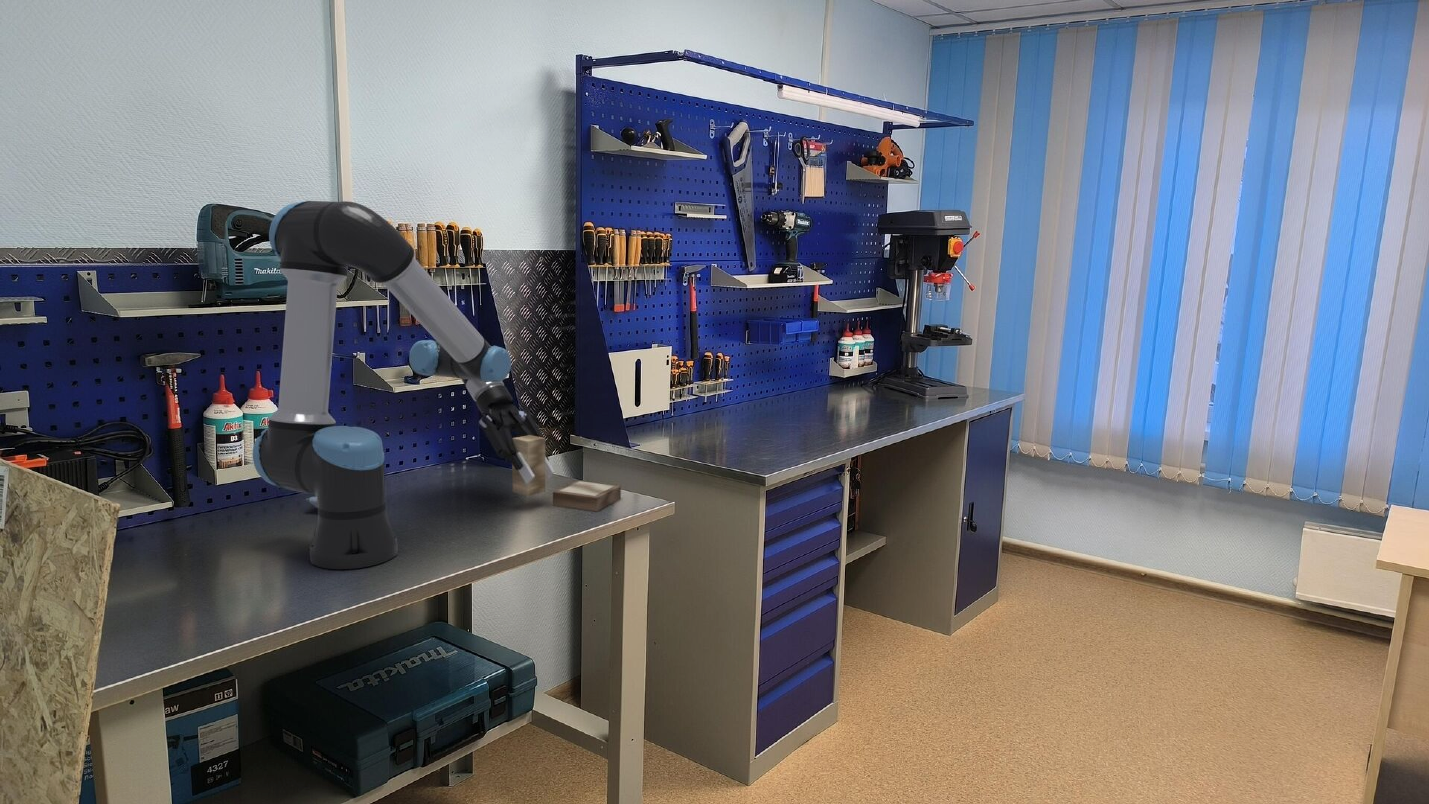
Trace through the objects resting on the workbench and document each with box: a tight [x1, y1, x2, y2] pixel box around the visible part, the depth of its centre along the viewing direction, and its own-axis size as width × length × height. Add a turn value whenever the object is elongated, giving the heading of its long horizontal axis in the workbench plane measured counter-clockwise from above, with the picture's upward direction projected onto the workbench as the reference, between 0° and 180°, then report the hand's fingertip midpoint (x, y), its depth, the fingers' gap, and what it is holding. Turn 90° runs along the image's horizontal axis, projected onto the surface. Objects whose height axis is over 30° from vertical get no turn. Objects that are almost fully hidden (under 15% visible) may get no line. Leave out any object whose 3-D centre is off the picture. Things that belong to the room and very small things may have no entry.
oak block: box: [511, 435, 546, 497], centre depth 205 cm, size 5×5×12 cm
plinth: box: [552, 480, 622, 512], centre depth 210 cm, size 11×11×3 cm
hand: (540, 477), depth 203 cm, fingers closed on oak block, 5 cm apart
